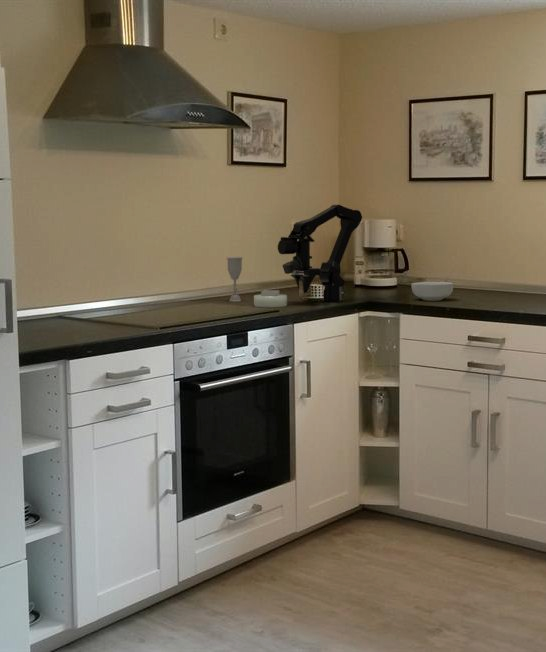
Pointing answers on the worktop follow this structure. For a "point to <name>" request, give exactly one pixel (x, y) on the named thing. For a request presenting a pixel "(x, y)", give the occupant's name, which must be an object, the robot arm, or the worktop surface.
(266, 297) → the disc with square recess
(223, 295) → the worktop surface
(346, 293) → the worktop surface
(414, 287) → the cereal bowl
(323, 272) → the robot arm
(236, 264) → the chalice
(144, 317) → the worktop surface
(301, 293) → the dowel
